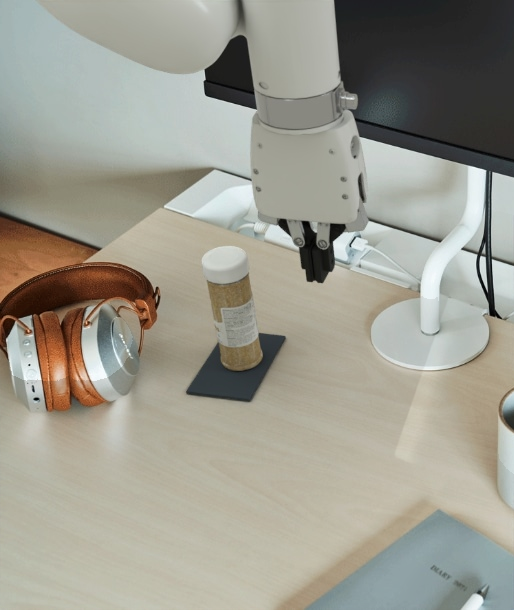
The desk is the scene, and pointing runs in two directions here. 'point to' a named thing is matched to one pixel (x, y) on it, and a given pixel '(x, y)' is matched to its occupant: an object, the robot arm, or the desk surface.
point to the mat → (234, 373)
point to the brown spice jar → (232, 307)
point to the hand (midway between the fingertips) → (319, 274)
